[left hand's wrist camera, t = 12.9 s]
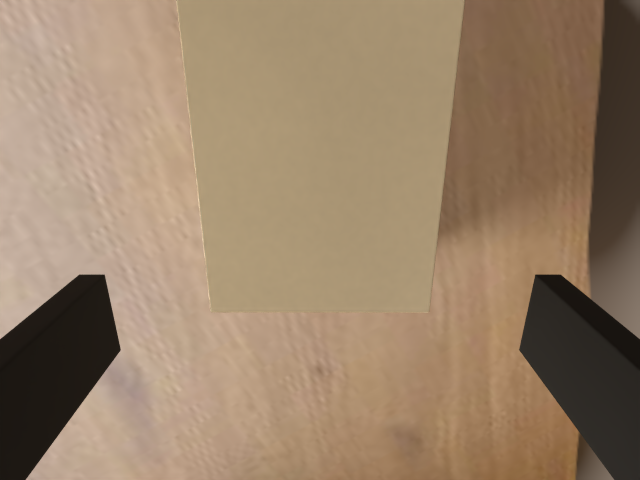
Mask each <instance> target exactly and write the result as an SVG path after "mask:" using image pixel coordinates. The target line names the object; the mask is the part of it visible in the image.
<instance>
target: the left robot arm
mask: <svg viewBox="0 0 640 480" xmlns="http://www.w3.org/2000/svg"><path fill="white" fill-rule="evenodd" d="M120 350H121V349H120V344H119V340H118V335H117V330H116V326H115V321H114V316H113V312H112V307H111V302H110V298H109V293H108V288H107V284H106V279H105V275H78V276H77V277H76V278H75V279H74V280H72V281H71V282H70V283H69V284H67V285H66V286H65V287H64V288H63V289H61V290H60V291H59V292H58V293H56V294H55V295H54V296H53V297H51V298H50V299H49V300H48V301H47V302H45V303H44V304H43V305H42V306H40V307H39V308H38V309H37V310H36V311H34V312H33V313H32V314H31V315H29V316H28V317H27V318H26V319H25V320H23V321H22V322H21V323H20V324H18V325H17V326H16V327H15V328H14V329H12V330H11V331H10V332H9V333H7V334H6V335H5V336H4V337H2V338H1V339H0V480H26V478H27V477H28V476H29V474H30V473H31V472H32V470H33V469H34V468H35V466H36V465H37V463H38V462H39V461H40V459H41V458H42V457H43V455H44V454H45V453H46V451H47V450H48V448H49V447H50V446H51V444H52V443H53V442H54V440H55V439H56V438H57V436H58V435H59V433H60V432H61V431H62V429H63V428H64V427H65V425H66V424H67V423H68V421H69V420H70V418H71V417H72V416H73V414H74V413H75V412H76V410H77V409H78V408H79V406H80V405H81V403H82V402H83V401H84V399H85V398H86V397H87V395H88V394H89V393H90V391H91V390H92V388H93V387H94V386H95V384H96V383H97V382H98V380H99V379H100V378H101V376H102V375H103V373H104V372H105V371H106V369H107V368H108V367H109V365H110V364H111V363H112V361H113V360H114V358H115V357H116V356H117V354H118V353H119V352H120ZM519 350H520V352H521V353H522V354H523V356H524V357H525V358H526V360H527V361H528V363H529V364H530V365H531V367H532V368H533V369H534V371H535V372H536V373H537V375H538V376H539V378H540V379H541V380H542V382H543V383H544V384H545V386H546V387H547V388H548V390H549V391H550V393H551V394H552V395H553V397H554V398H555V399H556V401H557V402H558V403H559V405H560V406H561V408H562V409H563V410H564V412H565V413H566V414H567V416H568V417H569V418H570V420H571V421H572V423H573V424H574V425H575V427H576V428H577V429H578V431H579V432H580V433H581V435H582V436H583V437H584V439H585V440H586V442H587V443H588V444H589V446H590V447H591V448H592V450H593V451H594V452H595V454H596V455H597V457H598V458H599V459H600V461H601V462H602V463H603V465H604V466H605V467H606V469H607V470H608V472H609V473H610V474H611V476H612V477H613V478H614V480H640V339H639V338H637V337H636V336H635V335H634V334H633V333H631V332H630V331H629V330H628V329H626V328H625V327H624V326H623V325H622V324H620V323H619V322H618V321H617V320H615V319H614V318H613V317H612V316H611V315H609V314H608V313H607V312H606V311H604V310H603V309H602V308H601V307H600V306H598V305H597V304H596V303H595V302H593V301H592V300H591V299H590V298H589V297H587V296H586V295H585V294H584V293H582V292H581V291H580V290H579V289H577V288H576V287H575V286H574V285H573V284H571V283H570V282H569V281H568V280H566V279H565V278H564V277H563V276H562V275H535V279H534V284H533V288H532V293H531V298H530V302H529V307H528V312H527V316H526V321H525V326H524V330H523V335H522V340H521V344H520V349H519Z"/></svg>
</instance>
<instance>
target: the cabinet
mask: <svg viewBox="0 0 640 480" xmlns="http://www.w3.org/2000/svg"><path fill="white" fill-rule="evenodd" d="M176 3H177V12H178V21H179V30H180V39H181V48H182V57H183V66H184V75H185V84H186V93H187V102H188V111H189V120H190V129H191V138H192V147H193V156H194V165H195V175H196V184H197V193H198V202H199V211H200V220H201V229H202V238H203V247H204V256H205V265H206V274H207V283H208V292H209V301H210V310H211V312H328V313H429V311H430V302H431V293H432V285H433V276H434V267H435V258H436V250H437V241H438V232H439V223H440V215H441V206H442V197H443V188H444V180H445V171H446V162H447V154H448V145H449V136H450V127H451V119H452V110H453V101H454V92H455V84H456V75H457V66H458V58H459V49H460V40H461V31H462V23H463V14H464V5H465V0H176Z"/></svg>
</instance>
